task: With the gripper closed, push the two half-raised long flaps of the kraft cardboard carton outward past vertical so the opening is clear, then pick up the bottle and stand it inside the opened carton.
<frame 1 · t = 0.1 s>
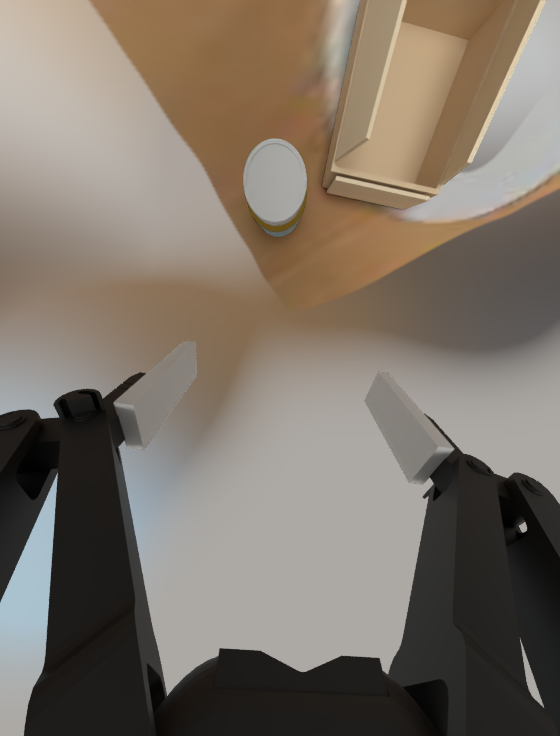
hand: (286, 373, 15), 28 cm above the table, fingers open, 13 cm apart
bottle: (278, 211, 33), on the table
carton: (387, 121, 28), on the table
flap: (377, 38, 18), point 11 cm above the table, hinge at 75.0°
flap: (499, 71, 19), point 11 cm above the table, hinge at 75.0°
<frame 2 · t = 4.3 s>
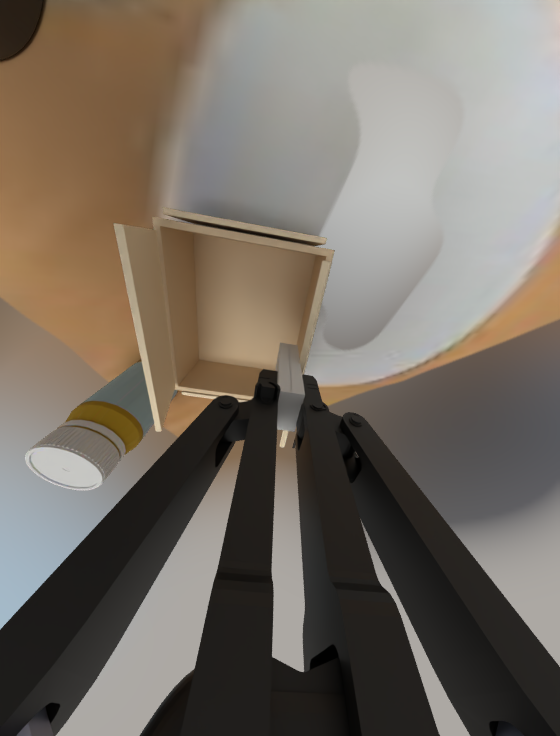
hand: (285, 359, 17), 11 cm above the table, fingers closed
bottle: (158, 377, 31), on the table
carton: (250, 313, 26), on the table
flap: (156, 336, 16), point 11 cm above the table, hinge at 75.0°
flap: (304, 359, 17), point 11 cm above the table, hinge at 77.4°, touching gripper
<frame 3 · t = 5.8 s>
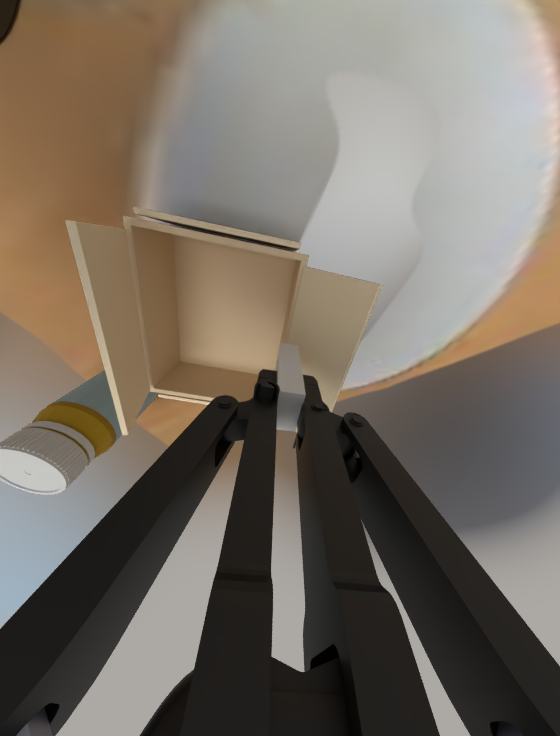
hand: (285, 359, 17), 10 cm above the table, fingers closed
bottle: (139, 378, 30), on the table
carton: (232, 315, 25), on the table
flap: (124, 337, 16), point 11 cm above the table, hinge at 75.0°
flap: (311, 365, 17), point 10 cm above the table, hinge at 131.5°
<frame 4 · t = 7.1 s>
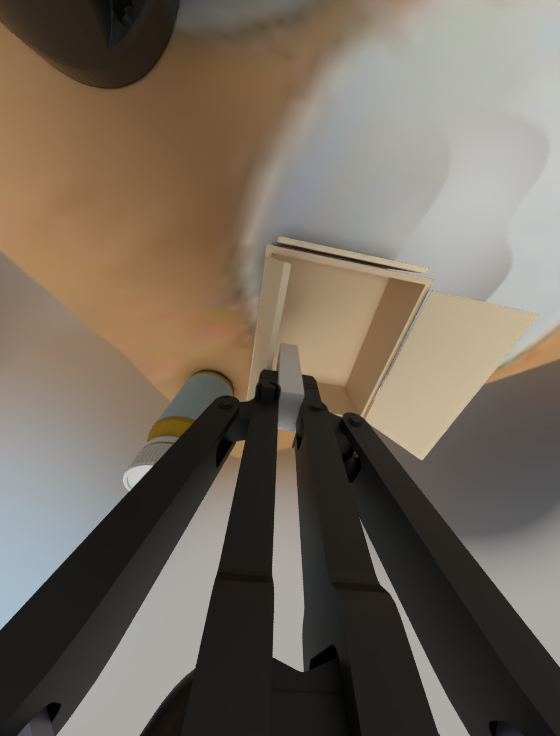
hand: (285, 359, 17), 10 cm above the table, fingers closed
bottle: (211, 388, 31), on the table
carton: (314, 329, 26), on the table
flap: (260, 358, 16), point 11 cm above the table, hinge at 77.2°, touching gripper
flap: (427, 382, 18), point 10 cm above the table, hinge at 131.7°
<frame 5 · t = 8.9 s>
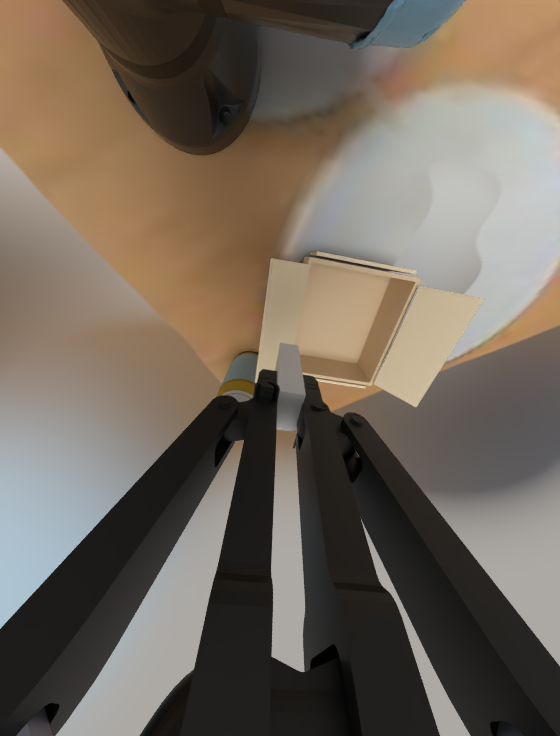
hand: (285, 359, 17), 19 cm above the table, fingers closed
bottle: (250, 366, 39), on the table
carton: (334, 317, 34), on the table
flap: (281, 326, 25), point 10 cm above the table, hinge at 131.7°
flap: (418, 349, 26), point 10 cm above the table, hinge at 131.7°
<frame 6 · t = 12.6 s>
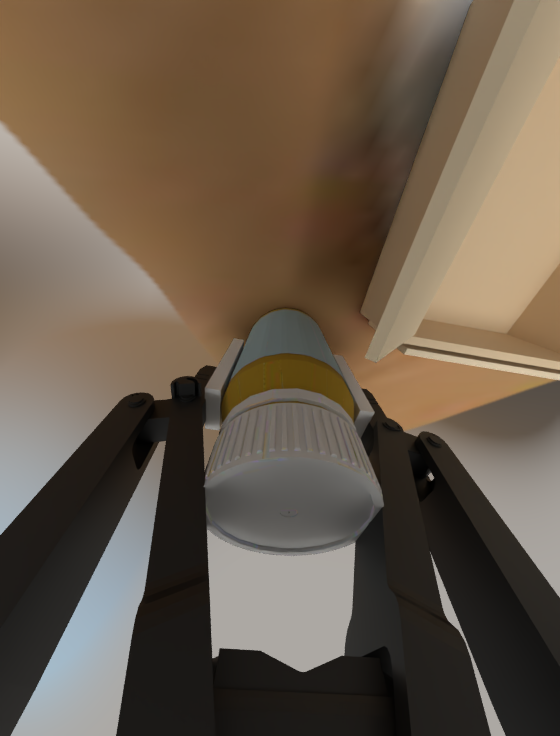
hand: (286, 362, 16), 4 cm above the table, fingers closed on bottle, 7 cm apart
bottle: (285, 342, 20), on the table, touching gripper
carton: (491, 220, 15), on the table
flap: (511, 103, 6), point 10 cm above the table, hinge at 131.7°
when the fingers open (7 cm above the table, at t = 18.7 s): bottle drops 2 cm, resting on carton.
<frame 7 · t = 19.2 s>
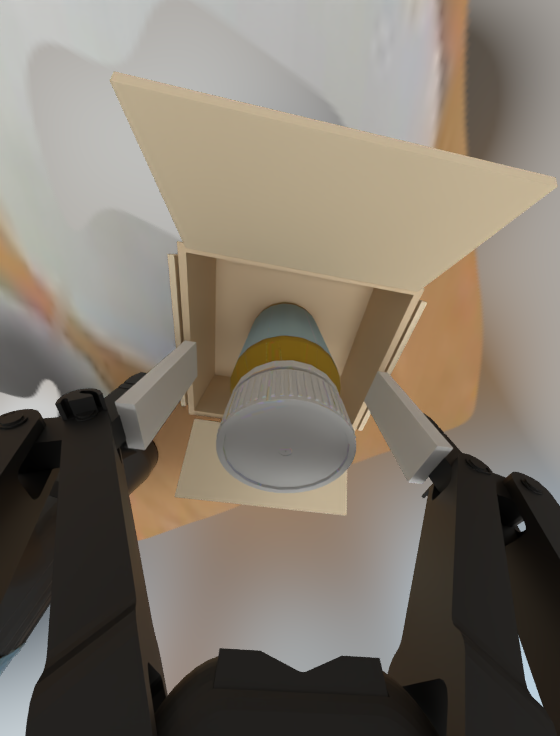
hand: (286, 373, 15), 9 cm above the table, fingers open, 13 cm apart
bottle: (284, 333, 22), resting on carton
carton: (285, 332, 22), on the table
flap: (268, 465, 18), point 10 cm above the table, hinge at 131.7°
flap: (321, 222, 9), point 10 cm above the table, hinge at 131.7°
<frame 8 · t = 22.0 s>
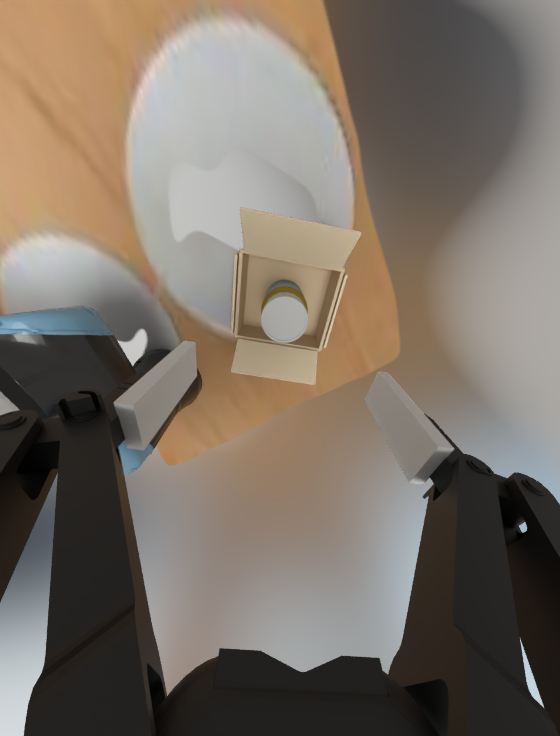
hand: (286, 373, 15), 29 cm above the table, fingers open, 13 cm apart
bottle: (284, 298, 40), resting on carton
carton: (284, 298, 40), on the table
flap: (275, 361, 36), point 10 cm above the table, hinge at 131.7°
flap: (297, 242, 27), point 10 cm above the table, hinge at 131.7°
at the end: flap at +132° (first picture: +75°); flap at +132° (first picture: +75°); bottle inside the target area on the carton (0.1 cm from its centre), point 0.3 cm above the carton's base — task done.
